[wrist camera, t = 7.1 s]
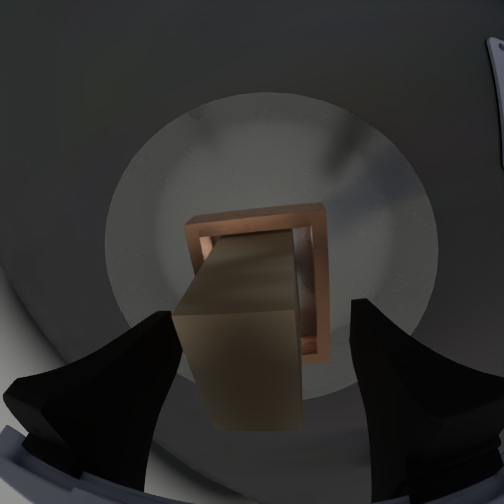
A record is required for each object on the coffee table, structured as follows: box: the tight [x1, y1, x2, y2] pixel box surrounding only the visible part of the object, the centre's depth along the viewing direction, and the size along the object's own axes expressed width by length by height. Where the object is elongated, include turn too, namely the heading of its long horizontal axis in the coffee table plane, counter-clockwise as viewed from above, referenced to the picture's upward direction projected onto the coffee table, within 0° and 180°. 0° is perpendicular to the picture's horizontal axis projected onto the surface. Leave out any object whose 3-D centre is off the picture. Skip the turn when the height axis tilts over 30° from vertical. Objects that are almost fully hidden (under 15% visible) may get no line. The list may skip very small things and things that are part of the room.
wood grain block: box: [171, 228, 303, 431], centre depth 11 cm, size 3×5×7 cm, turn 8°
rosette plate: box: [105, 92, 438, 400], centre depth 14 cm, size 18×18×2 cm
